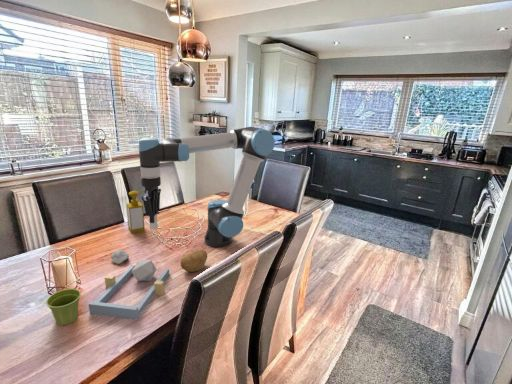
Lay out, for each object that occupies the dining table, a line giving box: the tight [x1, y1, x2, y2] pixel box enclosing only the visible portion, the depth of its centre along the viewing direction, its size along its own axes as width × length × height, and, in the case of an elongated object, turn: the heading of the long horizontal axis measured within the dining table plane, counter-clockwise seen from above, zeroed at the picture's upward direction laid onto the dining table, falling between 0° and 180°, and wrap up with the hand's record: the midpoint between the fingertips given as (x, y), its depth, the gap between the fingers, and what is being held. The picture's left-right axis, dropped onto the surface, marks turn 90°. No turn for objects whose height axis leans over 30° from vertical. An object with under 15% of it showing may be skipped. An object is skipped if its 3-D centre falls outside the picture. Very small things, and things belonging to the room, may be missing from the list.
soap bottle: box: [126, 190, 146, 235], centre depth 159 cm, size 7×13×24 cm, turn 125°
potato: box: [180, 249, 208, 273], centre depth 125 cm, size 10×14×8 cm
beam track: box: [88, 264, 170, 320], centre depth 108 cm, size 23×28×5 cm
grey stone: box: [110, 248, 130, 264], centre depth 129 cm, size 9×8×5 cm
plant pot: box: [45, 288, 82, 326], centre depth 92 cm, size 9×9×9 cm
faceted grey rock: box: [131, 259, 157, 282], centre depth 116 cm, size 8×9×10 cm
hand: (153, 228), depth 122 cm, fingers closed
